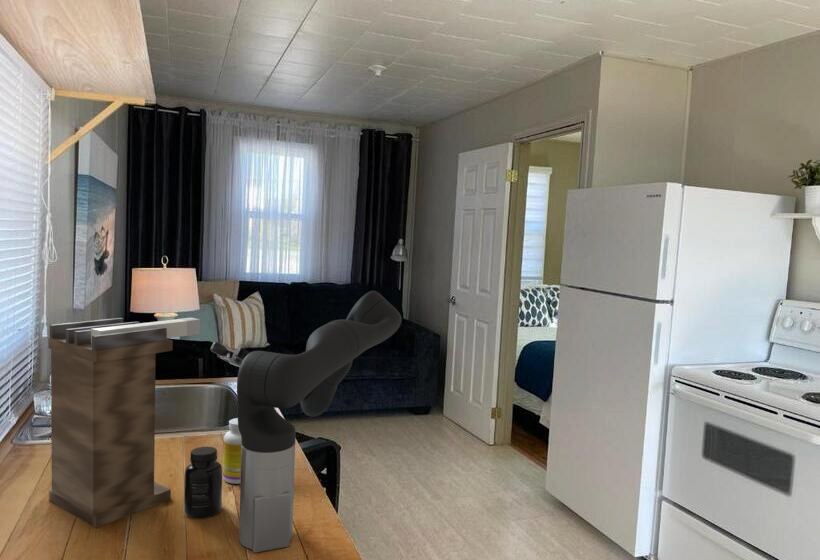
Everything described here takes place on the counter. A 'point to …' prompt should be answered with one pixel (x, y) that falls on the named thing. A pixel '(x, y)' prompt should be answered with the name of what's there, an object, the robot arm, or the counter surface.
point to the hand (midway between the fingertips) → (225, 348)
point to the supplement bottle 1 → (203, 484)
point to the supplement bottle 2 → (232, 454)
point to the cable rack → (104, 420)
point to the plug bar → (173, 327)
